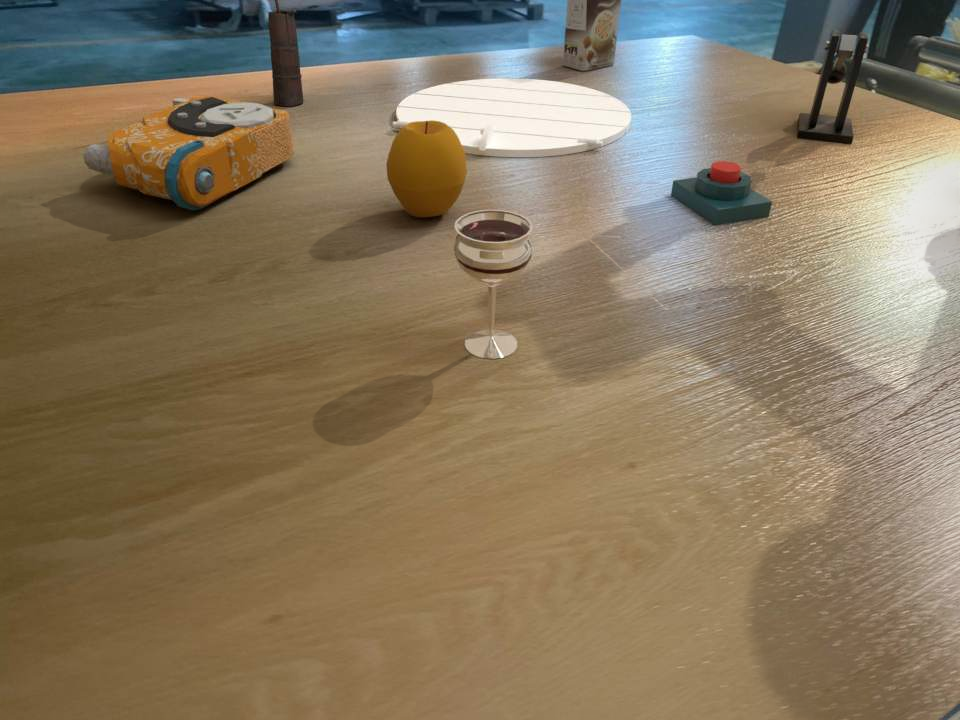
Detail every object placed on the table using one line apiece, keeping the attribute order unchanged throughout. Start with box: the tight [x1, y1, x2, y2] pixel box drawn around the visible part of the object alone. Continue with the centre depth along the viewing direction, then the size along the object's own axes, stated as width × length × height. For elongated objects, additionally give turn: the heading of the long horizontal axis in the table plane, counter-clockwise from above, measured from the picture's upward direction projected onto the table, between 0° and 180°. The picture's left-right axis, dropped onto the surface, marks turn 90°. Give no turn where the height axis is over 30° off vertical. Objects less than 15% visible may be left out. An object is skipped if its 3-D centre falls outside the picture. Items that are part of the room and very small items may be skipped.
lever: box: [827, 34, 858, 85], centre depth 121 cm, size 13×4×4 cm
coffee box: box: [562, 0, 622, 72], centre depth 152 cm, size 9×6×16 cm
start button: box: [709, 160, 742, 184], centre depth 95 cm, size 4×4×2 cm
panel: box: [670, 167, 773, 227], centre depth 97 cm, size 10×8×4 cm
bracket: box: [796, 29, 870, 145], centre depth 119 cm, size 10×8×15 cm
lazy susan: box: [392, 77, 632, 158], centre depth 127 cm, size 40×39×3 cm
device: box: [83, 94, 295, 211], centre depth 105 cm, size 23×8×30 cm
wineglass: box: [453, 209, 533, 360], centre depth 68 cm, size 7×7×12 cm
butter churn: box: [267, 0, 305, 107], centre depth 126 cm, size 9×10×28 cm
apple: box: [386, 120, 468, 218], centre depth 92 cm, size 10×10×12 cm
